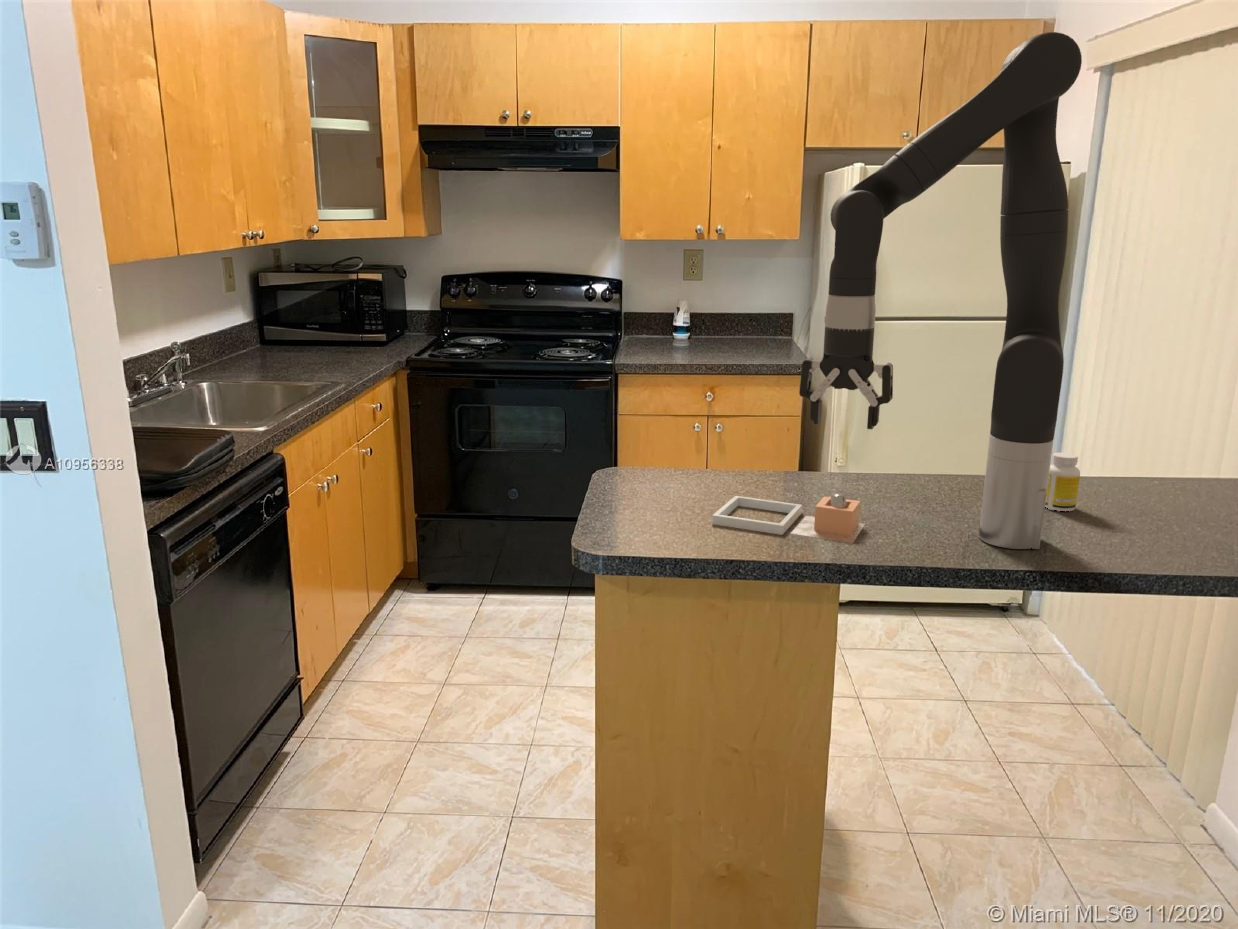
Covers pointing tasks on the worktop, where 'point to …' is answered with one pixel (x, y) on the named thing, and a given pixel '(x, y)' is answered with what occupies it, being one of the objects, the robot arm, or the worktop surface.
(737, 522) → the tray
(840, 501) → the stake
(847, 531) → the ring
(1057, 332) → the robot arm
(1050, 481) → the supplement bottle
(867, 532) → the worktop surface
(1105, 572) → the worktop surface
